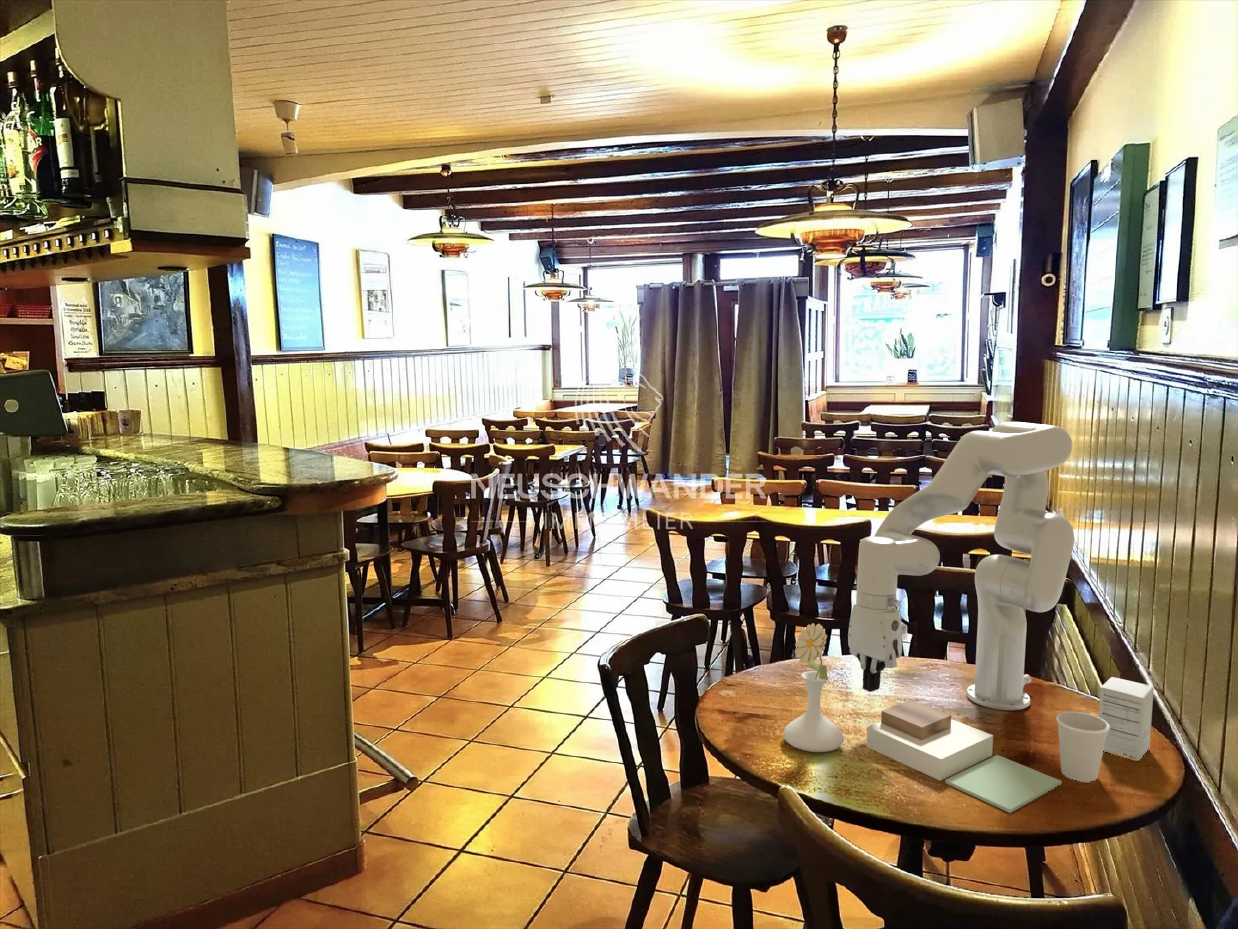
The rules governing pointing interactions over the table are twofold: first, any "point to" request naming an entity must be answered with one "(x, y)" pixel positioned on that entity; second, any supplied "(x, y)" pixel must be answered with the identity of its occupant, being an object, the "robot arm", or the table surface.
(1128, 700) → the supplement box
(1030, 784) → the green mat
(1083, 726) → the dixie cup
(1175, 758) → the table surface
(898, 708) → the walnut block
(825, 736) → the flower in vase
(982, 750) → the flat white rectangular box
